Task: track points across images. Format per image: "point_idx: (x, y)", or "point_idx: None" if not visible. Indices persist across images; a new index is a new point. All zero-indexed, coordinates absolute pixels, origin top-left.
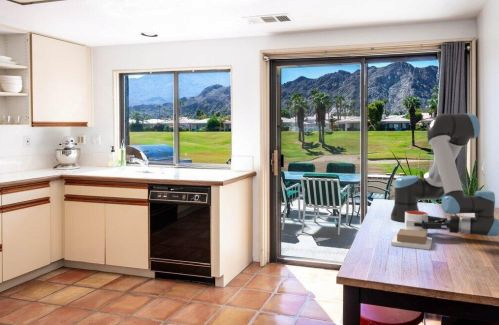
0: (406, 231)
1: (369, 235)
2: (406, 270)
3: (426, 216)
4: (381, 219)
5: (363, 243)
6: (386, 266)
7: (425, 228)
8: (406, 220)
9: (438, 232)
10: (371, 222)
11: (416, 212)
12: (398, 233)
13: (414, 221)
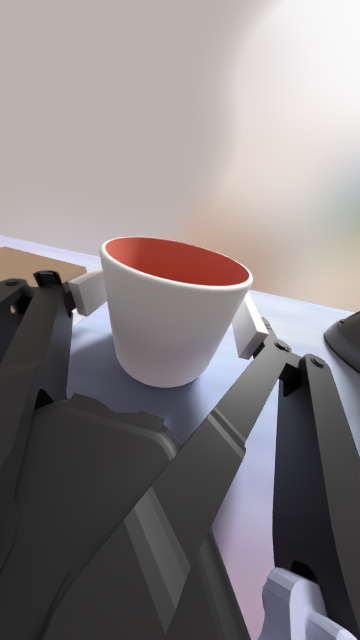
0: (30, 265)
1: None
2: None
3: (116, 283)
4: (307, 313)
5: (70, 255)
6: None
7: (17, 313)
8: (154, 273)
9: (250, 501)
10: (258, 295)
11: (241, 279)
12: (14, 250)
13: (98, 270)
